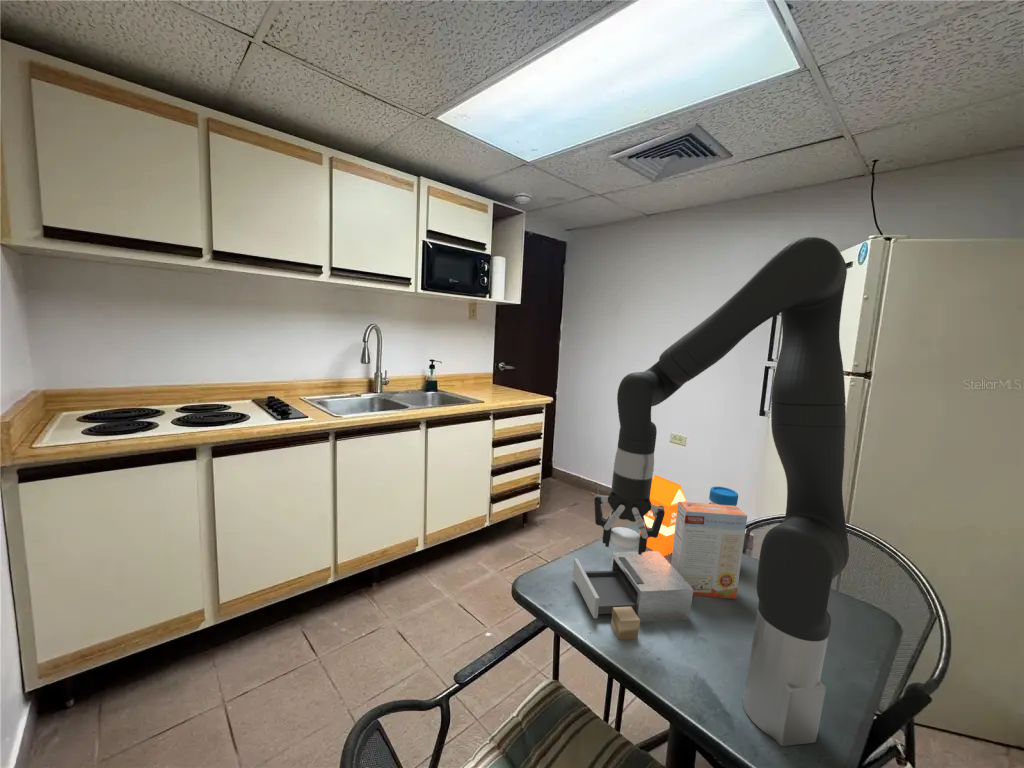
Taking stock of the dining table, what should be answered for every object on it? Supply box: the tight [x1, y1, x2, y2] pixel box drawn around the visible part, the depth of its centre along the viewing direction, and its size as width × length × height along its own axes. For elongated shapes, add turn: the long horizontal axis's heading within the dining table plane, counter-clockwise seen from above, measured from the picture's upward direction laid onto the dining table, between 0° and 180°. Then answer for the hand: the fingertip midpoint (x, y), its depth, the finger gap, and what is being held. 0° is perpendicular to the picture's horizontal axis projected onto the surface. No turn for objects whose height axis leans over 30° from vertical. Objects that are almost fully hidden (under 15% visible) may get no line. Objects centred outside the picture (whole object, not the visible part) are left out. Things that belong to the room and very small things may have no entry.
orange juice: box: [638, 474, 688, 557], centre depth 117 cm, size 8×9×20 cm
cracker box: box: [670, 501, 748, 600], centre depth 98 cm, size 14×6×21 cm, turn 87°
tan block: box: [610, 607, 641, 640], centre depth 83 cm, size 4×4×4 cm
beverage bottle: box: [708, 486, 739, 507], centre depth 111 cm, size 8×8×20 cm
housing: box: [610, 550, 693, 623], centre depth 94 cm, size 15×12×7 cm
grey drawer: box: [572, 557, 638, 619], centre depth 93 cm, size 15×12×4 cm
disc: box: [609, 526, 640, 551], centre depth 84 cm, size 6×6×2 cm
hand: (623, 548), depth 85 cm, fingers closed on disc, 6 cm apart
